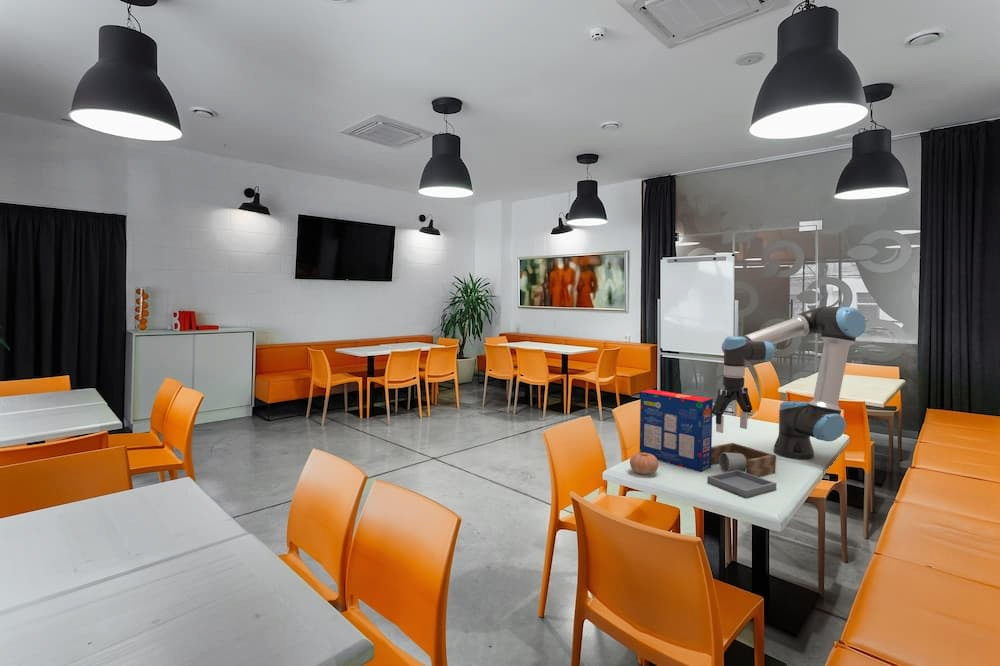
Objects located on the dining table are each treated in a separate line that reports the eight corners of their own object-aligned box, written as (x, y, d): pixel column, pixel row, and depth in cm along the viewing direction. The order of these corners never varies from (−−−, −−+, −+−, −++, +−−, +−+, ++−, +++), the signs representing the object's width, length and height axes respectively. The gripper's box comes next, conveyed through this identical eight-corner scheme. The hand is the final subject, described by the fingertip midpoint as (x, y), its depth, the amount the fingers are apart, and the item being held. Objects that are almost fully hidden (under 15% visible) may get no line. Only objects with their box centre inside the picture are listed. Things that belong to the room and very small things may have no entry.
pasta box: (710, 467, 204) (712, 398, 202) (700, 472, 199) (702, 401, 197) (650, 451, 225) (651, 389, 223) (639, 455, 220) (640, 391, 218)
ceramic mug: (748, 474, 196) (749, 454, 195) (728, 475, 195) (729, 455, 194) (733, 466, 206) (733, 447, 206) (714, 466, 205) (714, 448, 205)
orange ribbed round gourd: (624, 470, 201) (624, 450, 200) (646, 467, 205) (647, 447, 204) (640, 479, 191) (641, 458, 190) (664, 475, 195) (664, 455, 194)
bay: (731, 459, 214) (732, 442, 214) (775, 473, 197) (776, 455, 196) (707, 464, 208) (707, 447, 207) (749, 479, 190) (750, 461, 190)
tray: (736, 475, 194) (737, 469, 194) (776, 490, 180) (776, 483, 180) (707, 483, 187) (707, 476, 187) (745, 498, 173) (746, 491, 172)
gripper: (746, 373, 206) (744, 424, 208) (703, 377, 195) (701, 431, 196) (763, 375, 200) (761, 428, 201) (719, 379, 188) (717, 436, 190)
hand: (731, 430), depth 199 cm, fingers open, 13 cm apart
